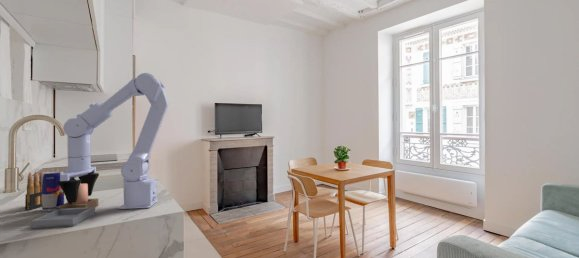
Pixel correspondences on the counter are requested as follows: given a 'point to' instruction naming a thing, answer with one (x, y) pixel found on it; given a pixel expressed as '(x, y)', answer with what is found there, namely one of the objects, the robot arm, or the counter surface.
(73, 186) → the robot arm
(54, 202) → the energy drink
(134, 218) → the counter surface
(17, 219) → the counter surface
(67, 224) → the tray
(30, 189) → the ammunition clip
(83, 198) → the dowel
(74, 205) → the frame
